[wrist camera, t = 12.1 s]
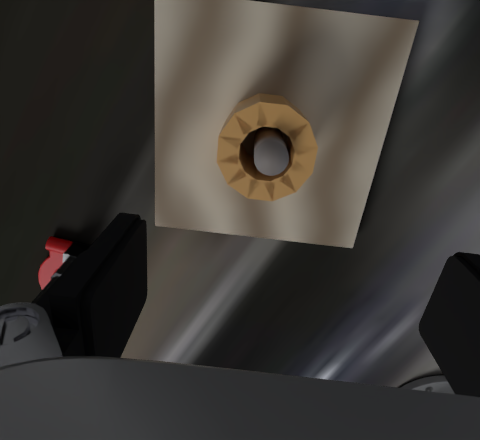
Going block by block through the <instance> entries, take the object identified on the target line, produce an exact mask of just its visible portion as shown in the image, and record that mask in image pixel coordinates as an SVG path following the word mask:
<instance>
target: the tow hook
mask: <svg viewBox="0 0 480 440" xmlns="http://www.w3.org/2000/svg"><path fill="white" fill-rule="evenodd" d="M90 246H91V245H87V244H83V243H80V242H72V241H68V240H64V239H60V238H57V237H53V236H51V237H49V239H48V240H47V243H46V250H49V251H50V256H48V257H47V258H46V260H45V261H44V262H43V263H42V264H41V266H40V269H39V272H38V277H39V283H40V286H41V288H42V291H41V292H40V293H39V294H38V295H37V297H36V298H35V299H34V300H33V301H32V302H31V303H32V304H36V303H37V302H38V300H39V299H40V298H41V297H42V296H43V295H44V294H45V293H46V291H47V290H48V289H49V288H50V287H51V286H52V285H53V284H54V282H55V281H56V280H57V279H58V278H59V277H60V276H61V275H62V273H63V272H64V271H65V270H66V269H67V268H68V267H69V266H70V264H71V263H72V262H73V261H74V260H75V259H76V258H77V257H78V255H79V254H80V253H82V252H83V251H87V250H88V248H89V247H90Z"/></svg>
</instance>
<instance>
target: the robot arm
mask: <svg viewBox="0 0 480 440" xmlns="http://www.w3.org/2000/svg"><path fill="white" fill-rule="evenodd" d="M146 298H147V232H146V221H145V220H141V218H140V216H139V215H136V214H127V213H119V214H118V215H117V216H116V217H115V219H114V220H113V221H112V222H111V223H110V224H109V225H108V227H107V228H106V229H105V230H104V231H103V232H102V233H101V235H100V236H99V237H98V238H97V239H96V240H95V242H94V243H93V244H92V245H91V246H90V247H89V248H88V250H87V251H83V252H82V253H80V254H79V255H78V257H77V258H76V259H75V260H74V261H73V262H72V263H71V264H70V266H69V267H68V268H67V269H66V270H65V271H64V272H63V273H62V275H61V276H60V277H59V278H58V279H57V280H56V281H55V282H54V284H53V285H52V286H51V287H50V288H49V289H48V290H47V291H46V293H45V294H44V295H43V296H42V297H41V298H40V299H39V300H38V302H37V303H36V304H32V303H13V304H8V305H3V306H0V440H480V255H479V254H471V253H462V252H458V253H455V254H454V255H453V256H450V257H449V258H448V259H447V261H446V263H445V266H444V268H443V270H442V273H441V275H440V277H439V279H438V282H437V284H436V286H435V289H434V291H433V293H432V295H431V298H430V300H429V302H428V305H427V307H426V309H425V311H424V314H423V316H422V318H421V321H420V323H419V332H420V335H421V337H422V338H423V340H424V342H425V343H426V345H427V347H428V349H429V350H430V352H431V354H432V355H433V357H434V359H435V361H436V362H437V364H438V366H439V367H440V369H441V371H442V373H443V374H444V375H439V376H431V377H425V378H422V379H418V380H415V381H413V382H410V383H408V384H406V385H404V386H402V387H401V388H395V387H387V386H378V385H369V384H360V383H352V382H343V381H334V380H325V379H317V378H308V377H299V376H290V375H282V374H273V373H264V372H255V371H246V370H237V369H227V368H218V367H209V366H200V365H191V364H181V363H172V362H163V361H153V360H140V359H127V358H120V357H121V355H122V353H123V351H124V348H125V346H126V344H127V342H128V339H129V337H130V335H131V333H132V331H133V328H134V326H135V324H136V322H137V320H138V317H139V315H140V313H141V311H142V308H143V306H144V304H145V301H146Z"/></svg>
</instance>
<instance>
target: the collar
mask: <svg viewBox="0 0 480 440" xmlns="http://www.w3.org/2000/svg"><path fill="white" fill-rule="evenodd" d="M263 126H264V127H273V128H278V129H280V130H281V131H282V132H284V133H285V134H286V135H287V136H288V140H287V145H286V148H287V151H288V155H289V162H288V165H287V167H286V168H285V170H284V171H283V172H281V173H280V174H278V175H274V176H268V175H265V174H262V173H261V172H260V171H259V170H258V169H257V168H256V166H255V163H254V158H253V157H252V156H251V155H249V154H248V153H247V152H246V150H245V148H244V146H243V144H242V141H243V140H244V139H245V137H246V136H247V135H248V133H249V132H251V131H254V130H256V129H258V128H260V127H263ZM317 150H318V146H317V143H316V140H315V137H314V134H313V132H312V129H311V126H310V123H309V121H308V120H307V119H306V117H305V116H304V115H303V113H302V112H301V111H300V110H299V109H298V108H297V107H295V106H294V105H293V104H292V103H290V102H289V101H288V100H287V99H285V98H284V97H283V96H279V95H270V94H262V93H259V94H256V95H254V96H252V97H250V98H248V99H245V100H243V101H241V102H239V103H238V104H237V105H236V106H235V108H234V109H233V111H232V112H231V114H230V115H229V117H228V118H227V119H226V121H225V123H224V125H223V127H222V129H221V132H220V134H219V137H218V150H217V164H218V166H219V168H220V170H221V172H222V174H223V176H224V178H225V180H226V183H227V185H229V186H230V187H232V188H233V189H235V190H236V191H238V192H239V193H240V194H242V195H243V196H245V197H246V198H248V199H256V200H265V201H275V200H277V199H280V198H282V197H285V196H288V195H290V194H293V193H295V192H297V190H298V189H299V188H300V187H301V186H302V185H303V184H304V182H305V181H306V180H307V179H308V178H309V177H310V176H311V174H312V173H313V169H314V164H315V160H316V155H317Z"/></svg>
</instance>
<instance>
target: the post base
mask: <svg viewBox="0 0 480 440" xmlns="http://www.w3.org/2000/svg"><path fill="white" fill-rule="evenodd" d="M418 23H419V21H416V20H408V19H399V18H391V17H383V16H375V15H366V14H358V13H350V12H341V11H333V10H325V9H317V8H308V7H300V6H292V5H284V4H275V3H267V2H259V1H250V0H155V226H163V227H172V228H180V229H189V230H198V231H207V232H215V233H224V234H233V235H242V236H250V237H259V238H268V239H277V240H285V241H294V242H303V243H312V244H320V245H329V246H338V247H347V248H353V245H354V242H355V238H356V235H357V231H358V228H359V225H360V221H361V218H362V214H363V211H364V207H365V204H366V201H367V197H368V194H369V190H370V187H371V184H372V180H373V177H374V173H375V170H376V167H377V163H378V160H379V156H380V153H381V150H382V146H383V143H384V139H385V136H386V132H387V129H388V126H389V122H390V119H391V115H392V112H393V109H394V105H395V102H396V98H397V95H398V92H399V88H400V85H401V81H402V78H403V75H404V71H405V68H406V64H407V61H408V57H409V54H410V51H411V47H412V44H413V40H414V37H415V34H416V30H417V27H418ZM259 93H262V94H270V95H279V96H283V97H284V98H285V99H287V100H288V101H289V102H290V103H292V104H293V105H294V106H295V107H297V108H298V109H299V110H300V111H301V112H302V113H303V115H304V116H305V117H306V119H307V120H308V121H309V123H310V126H311V129H312V132H313V134H314V137H315V140H316V143H317V146H318V150H317V155H316V160H315V164H314V169H313V173H312V174H311V176H310V177H309V178H308V179H307V180H306V181H305V182H304V184H303V185H302V186H301V187H300V188H299V189H298V190H297V192H295V193H293V194H290V195H288V196H285V197H282V198H280V199H277V200H275V201H265V200H256V199H248V198H246V197H245V196H243V195H242V194H240V193H239V192H238V191H236V190H235V189H233V188H232V187H230V186H229V185H227V183H226V180H225V178H224V176H223V174H222V172H221V170H220V168H219V166H218V164H217V150H218V137H219V134H220V132H221V129H222V127H223V125H224V123H225V121H226V119H227V118H228V117H229V115H230V114H231V112H232V111H233V109H234V108H235V106H236V105H237V104H238V103H239V102H241V101H243V100H245V99H248V98H250V97H252V96H254V95H256V94H259ZM287 140H288V136H287V135H286V134H285V133H284V132H282V131H281V130H280V129H278V128H273V127H264V126H263V127H260V128H258V129H256V130H254V131H251V132H249V133H248V135H247V136H246V137H245V139H244V140H243V141H242V144H243V146H244V148H245V150H246V152H247V153H248V154H249V155H251V156H252V157H253V158H254V163H255V166H256V168H257V169H258V170H259V171H260V172H261V173H262V174H265V175H268V176H274V175H278V174H280V173H281V172H283V171H284V170H285V168H286V167H287V165H288V162H289V155H288V151H287V148H286V145H287Z"/></svg>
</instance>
